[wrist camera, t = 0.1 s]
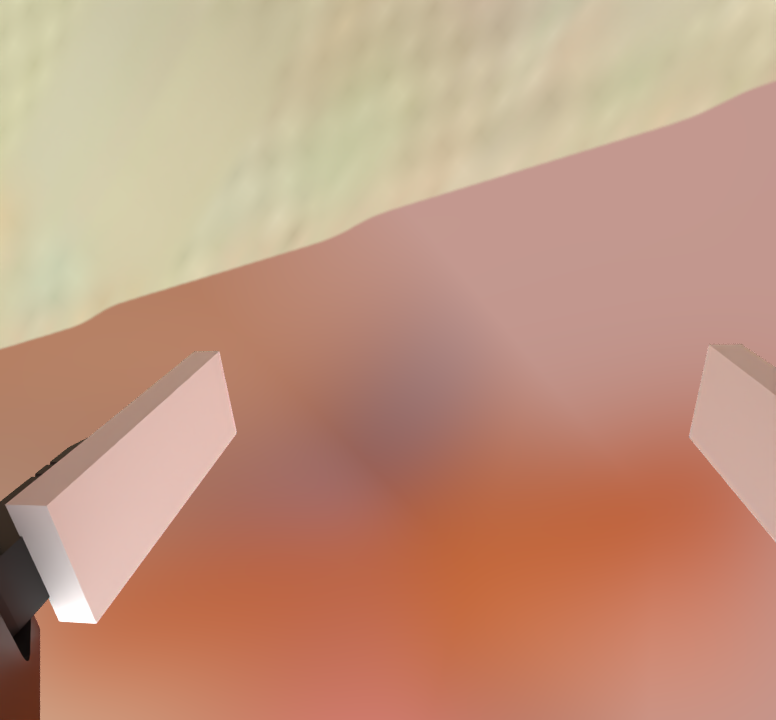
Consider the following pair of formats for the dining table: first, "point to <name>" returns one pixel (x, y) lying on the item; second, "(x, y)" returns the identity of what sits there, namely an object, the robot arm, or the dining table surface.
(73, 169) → the dining table surface
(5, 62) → the dining table surface
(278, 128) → the dining table surface
